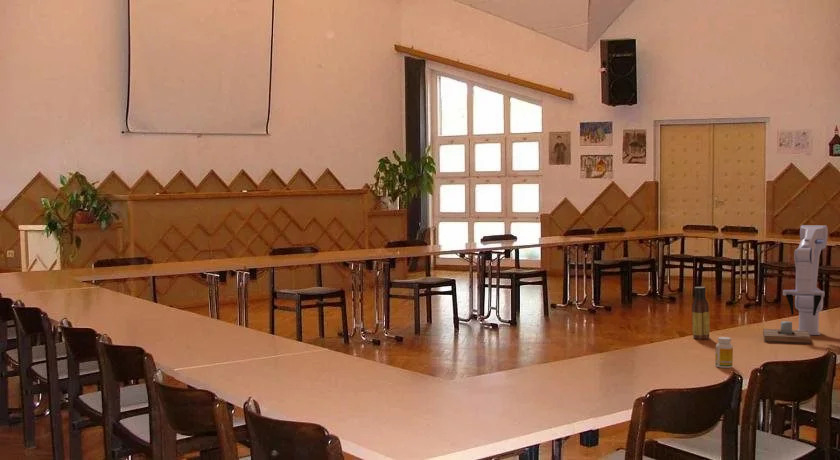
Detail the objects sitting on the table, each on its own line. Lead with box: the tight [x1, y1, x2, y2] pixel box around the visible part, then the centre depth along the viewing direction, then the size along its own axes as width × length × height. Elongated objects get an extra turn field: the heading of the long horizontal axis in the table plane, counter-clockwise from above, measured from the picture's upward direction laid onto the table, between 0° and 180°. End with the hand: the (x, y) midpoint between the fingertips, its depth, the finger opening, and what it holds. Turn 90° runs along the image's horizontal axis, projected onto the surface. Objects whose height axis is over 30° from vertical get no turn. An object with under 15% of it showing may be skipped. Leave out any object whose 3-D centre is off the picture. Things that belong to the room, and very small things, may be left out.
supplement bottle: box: [714, 336, 734, 369], centre depth 303 cm, size 5×5×10 cm
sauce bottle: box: [691, 286, 710, 340], centre depth 355 cm, size 7×6×20 cm
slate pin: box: [780, 320, 793, 335], centre depth 351 cm, size 4×4×6 cm
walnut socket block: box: [762, 328, 812, 345], centre depth 351 cm, size 16×16×2 cm
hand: (803, 314), depth 351 cm, fingers open, 7 cm apart
